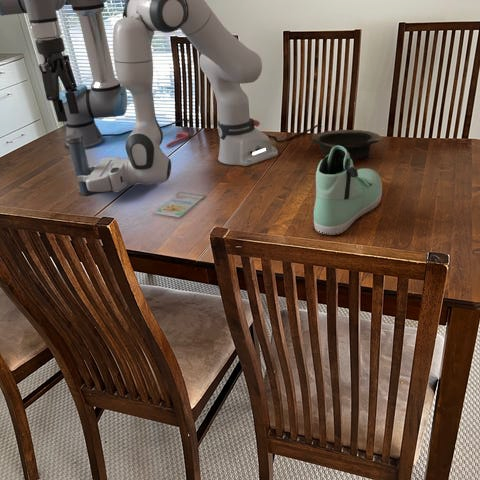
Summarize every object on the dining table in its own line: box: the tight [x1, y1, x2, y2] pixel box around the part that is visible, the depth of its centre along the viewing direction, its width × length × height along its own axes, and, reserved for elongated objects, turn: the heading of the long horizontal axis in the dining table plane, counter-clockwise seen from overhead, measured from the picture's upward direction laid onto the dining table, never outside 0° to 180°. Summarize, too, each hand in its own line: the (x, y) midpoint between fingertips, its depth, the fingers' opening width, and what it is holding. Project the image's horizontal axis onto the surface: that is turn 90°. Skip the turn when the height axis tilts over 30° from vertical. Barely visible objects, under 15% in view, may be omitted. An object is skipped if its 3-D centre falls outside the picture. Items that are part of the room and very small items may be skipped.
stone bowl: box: [310, 129, 384, 164], centre depth 171 cm, size 25×25×9 cm
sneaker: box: [313, 146, 383, 236], centre depth 133 cm, size 14×35×20 cm, turn 152°
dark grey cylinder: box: [68, 141, 95, 196], centre depth 156 cm, size 4×4×19 cm
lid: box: [65, 133, 83, 143], centre depth 152 cm, size 5×5×2 cm
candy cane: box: [165, 132, 190, 148], centre depth 199 cm, size 6×15×2 cm, turn 145°
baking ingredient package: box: [153, 192, 205, 218], centre depth 148 cm, size 9×1×15 cm
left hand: (68, 117), depth 148 cm, fingers open, 7 cm apart
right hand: (81, 174), depth 158 cm, fingers closed on dark grey cylinder, 4 cm apart
